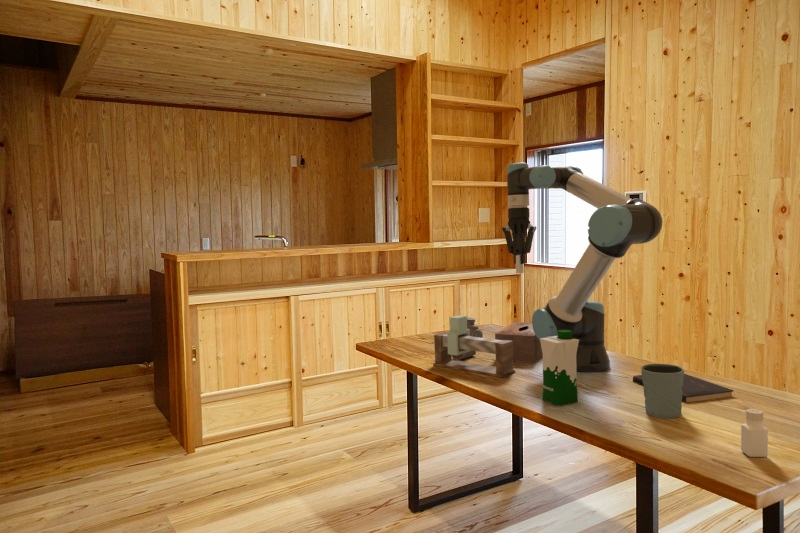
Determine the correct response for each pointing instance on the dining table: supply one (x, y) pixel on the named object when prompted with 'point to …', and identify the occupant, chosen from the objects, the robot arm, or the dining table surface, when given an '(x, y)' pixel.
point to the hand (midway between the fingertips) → (519, 273)
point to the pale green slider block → (456, 334)
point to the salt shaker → (754, 434)
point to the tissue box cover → (522, 341)
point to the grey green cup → (663, 389)
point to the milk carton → (560, 368)
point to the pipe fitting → (473, 328)
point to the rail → (477, 368)
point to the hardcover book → (697, 389)
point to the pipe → (464, 355)
